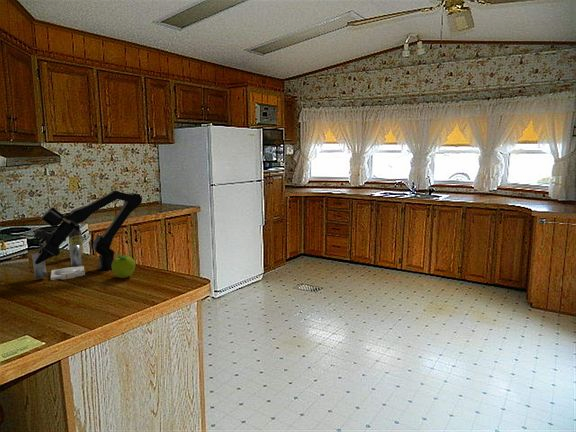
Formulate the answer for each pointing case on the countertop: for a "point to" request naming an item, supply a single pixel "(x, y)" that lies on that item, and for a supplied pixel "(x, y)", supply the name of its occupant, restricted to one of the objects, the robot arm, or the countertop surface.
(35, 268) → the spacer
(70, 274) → the scale
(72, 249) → the cylinder
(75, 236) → the sauce bottle
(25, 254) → the countertop surface
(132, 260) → the fruit
